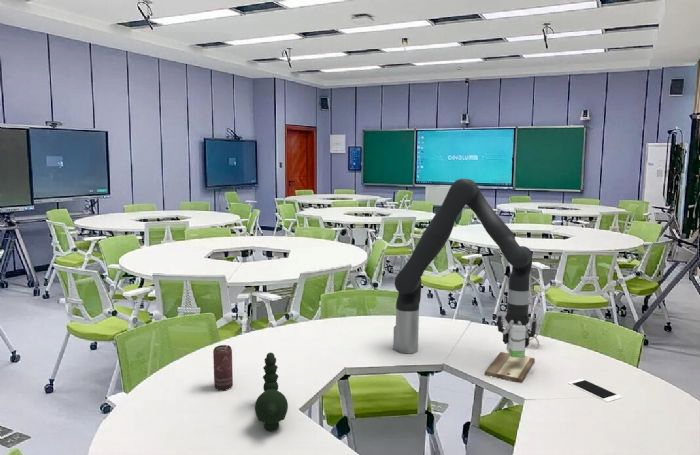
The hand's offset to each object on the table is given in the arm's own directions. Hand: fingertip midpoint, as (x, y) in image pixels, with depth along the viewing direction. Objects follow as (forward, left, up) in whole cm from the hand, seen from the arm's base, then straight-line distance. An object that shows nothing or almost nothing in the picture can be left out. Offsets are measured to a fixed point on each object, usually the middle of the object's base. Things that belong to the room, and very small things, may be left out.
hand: (515, 345), depth 196 cm
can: (-82, -67, -10) cm, 106 cm away
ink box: (0, 0, -3) cm, 3 cm away
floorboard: (-2, 0, -9) cm, 10 cm away
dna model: (0, +27, -10) cm, 29 cm away
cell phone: (+27, -4, -10) cm, 30 cm away
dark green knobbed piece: (-54, -75, -10) cm, 93 cm away
